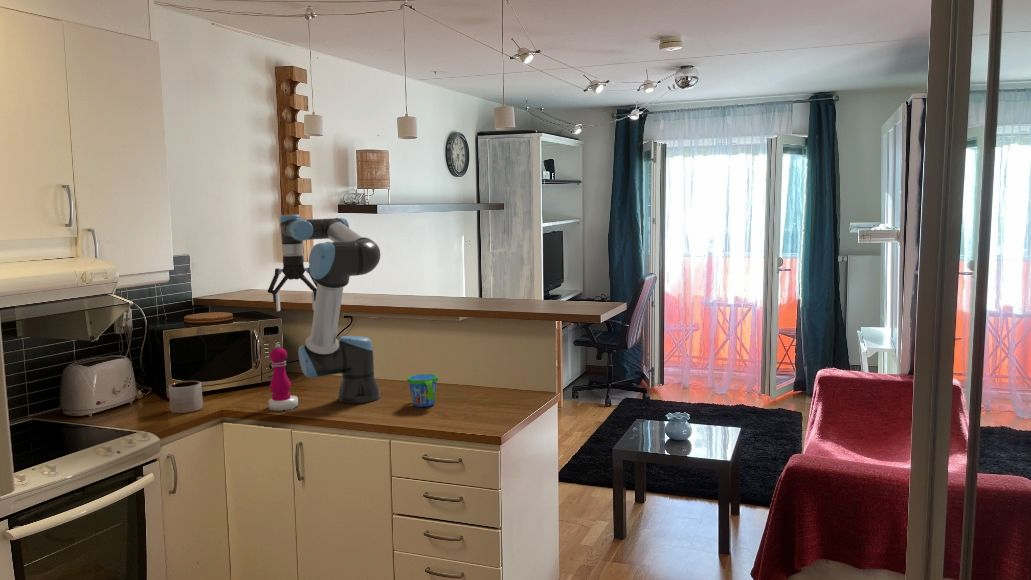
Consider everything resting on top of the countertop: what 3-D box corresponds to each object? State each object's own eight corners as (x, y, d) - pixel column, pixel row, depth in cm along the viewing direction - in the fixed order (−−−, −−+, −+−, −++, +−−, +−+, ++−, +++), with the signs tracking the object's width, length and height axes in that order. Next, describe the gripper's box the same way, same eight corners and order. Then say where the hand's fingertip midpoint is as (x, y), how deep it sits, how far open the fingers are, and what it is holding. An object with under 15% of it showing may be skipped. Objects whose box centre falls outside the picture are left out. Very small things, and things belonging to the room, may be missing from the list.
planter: (163, 412, 276) (161, 386, 275) (187, 405, 286) (184, 379, 285) (187, 415, 272) (184, 388, 271) (210, 407, 282) (207, 381, 281)
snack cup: (404, 401, 280) (403, 374, 279) (433, 398, 283) (431, 370, 282) (414, 412, 265) (412, 382, 264) (444, 408, 269) (442, 379, 268)
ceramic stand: (304, 405, 280) (303, 396, 279) (284, 412, 271) (283, 403, 271) (283, 402, 284) (282, 394, 284) (263, 409, 276) (262, 401, 275)
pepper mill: (287, 401, 274) (284, 345, 272) (267, 401, 275) (263, 345, 272) (294, 395, 281) (291, 341, 279) (275, 396, 282) (271, 342, 280)
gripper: (327, 253, 300) (331, 307, 303) (262, 255, 299) (266, 310, 302) (323, 254, 293) (327, 310, 295) (256, 257, 292) (260, 312, 294)
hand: (296, 310), depth 298 cm, fingers open, 13 cm apart
